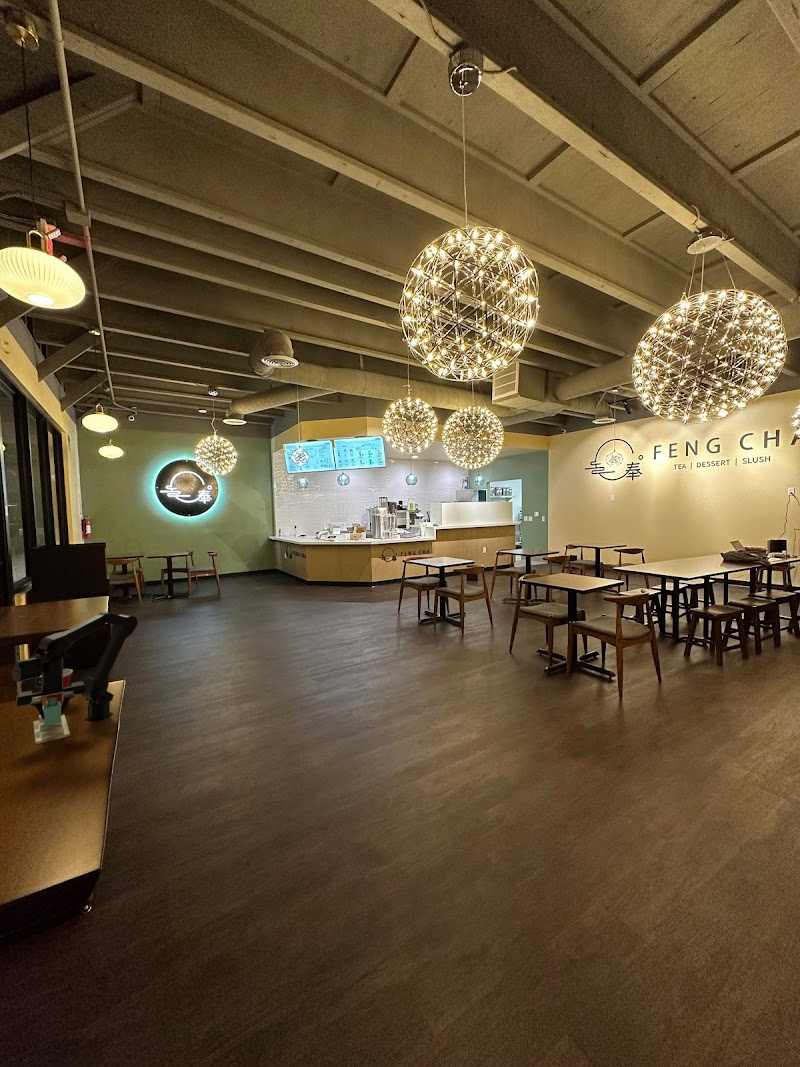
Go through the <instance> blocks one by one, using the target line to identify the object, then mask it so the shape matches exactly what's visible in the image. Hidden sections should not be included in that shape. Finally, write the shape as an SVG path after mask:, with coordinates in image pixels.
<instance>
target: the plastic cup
mask: <svg viewBox="0 0 800 1067" xmlns="http://www.w3.org/2000/svg"><path fill="white" fill-rule="evenodd" d="M73 671H74V670H73V669H70V668H63V688H65V687H70V682H71V677H72V674H73ZM39 677H42V675H40V676H39ZM45 698H46V699H45V700H46V702H47V701H48V699H50V698H57V701H60V703H61V702H62V694H58V695H53V696H48V697H45Z"/></svg>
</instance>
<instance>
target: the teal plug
mask: <svg viewBox="0 0 800 1067" xmlns="http://www.w3.org/2000/svg"><path fill="white" fill-rule="evenodd" d="M43 706H44V726H47V725H51V724H55V723H60V722H61V703H60V701H57V698H50V699H48V703H47V704H46V703H44V704H43Z"/></svg>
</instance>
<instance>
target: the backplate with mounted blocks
mask: <svg viewBox="0 0 800 1067" xmlns="http://www.w3.org/2000/svg"><path fill="white" fill-rule="evenodd" d="M32 724H33V732H34V740H35V741H34V742H35V745H39V744H43V743H46V742H47V743H48V742H52V741H56V740H59V739H62V738H63V739H65V738H67V737H70V736H71V733H70V730H69V726H68V723H67V719H66V715H65V714H62V716H61V722H60V723H55V724H51V725H47V726H44V723H42V717H41V715H40V714H39V715H38V719H37V720H34V721H32Z"/></svg>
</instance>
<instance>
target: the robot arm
mask: <svg viewBox="0 0 800 1067" xmlns="http://www.w3.org/2000/svg"><path fill="white" fill-rule="evenodd" d="M138 623H139V621H138V619H137V617H135V616H134V615H129V614H118V615H117V614H114V613H112V612H110V611H109V612H108V611H101V612H99V613H98V614H96V615H94V616H92V617H90V618H88V619H86V620H84V621H82V622H81V623H79V624H77V625H75V626H73V627H71V628H69V629H67V630H65V631H61V632H55V633H53V634H51V635H48V636H47V635H46V636H45V637H43V638H42V639H41V640H40V642H39V644H38V647H37V648H36V649H35V650H34V652H33V653H32V654H31V656H30V658H26V659H20V660H16V661H15V665H14V666H12V667H13V668H12V670H11V675H12V676H11V677H12V679H13V681H14V682H15V683H21V682H24V681H29V680H32V679H35V688H40V690H41V691H39V692H34V693H33V691H32V690H28V691H22V692H18V693H17V694H16V696H15V697H16V707H22V706H26V705H29V706H30V707H35V708H36V709H37V712H38V713H39V715H41V717H42V720H44V712H43V706H44V705H43V702H42V699H43V698H46V697H48V696H53V695H58V694H62V702H61V716H62V715H64V712H65V709H66V707H67V705H68V703H69V702H70V700H72V698H74V697H75V696H76V695H81V696H82V697H83V698H85V700H86V701H88V705H87V716H85V717H84V720H87V721H96V722H97V721H98V722H99V721H100V722H101V721H102V720H104V719H106V718H108V717H110V716H111V715H113V714H114V711H113V712H112V711H111V707H110V706H111V705H110V704H111V702H112V701H113V699H114V694H113V693H111V692H110V691H108V688H109V684H110V682H109V681H110V680H109V677H110V674H111V672H112V669H113V667H114V664H115V663H116V661H117V658H118V657H119V654H120V652H121V650H122V648H123V646H124V643H125V641H126V640H127V638H128V637H130V636H131V635H132V634H133V632H134V631H135V630H136V628H137V627H138ZM107 624H111V625H112V626H111V637H110V639H109V641H108V643H107V645H106V647H105V650H104V652H103V654H102V656H101V658H100V660H99V663H98V665H97V667H96V669H95V670H94V673H93V674H91V675H90V676H85V677H84V679H83V681H76V682H72V683H71V684H70V686H69V687H65V688H63V669H64V660H65V659H67V658H70V657H71V655H70V654H68V653H67V652H66V650H68V649H69V648H70V647H71V646H72V645H73V644H74V642H76V641H78V640H80V639H81V638H83V637H85V636H87V635H89V634H90V633H93V632H94V631H96V630H98V629H99V628H101V627H103V626H104V625H107ZM41 675H42V677H40V676H41Z"/></svg>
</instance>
